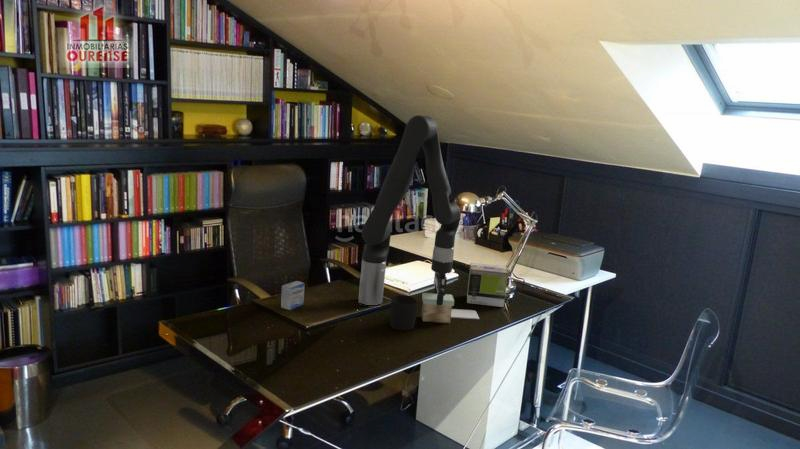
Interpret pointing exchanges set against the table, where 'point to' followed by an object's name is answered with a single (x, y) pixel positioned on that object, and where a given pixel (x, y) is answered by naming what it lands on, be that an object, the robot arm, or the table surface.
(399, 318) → the pen holder
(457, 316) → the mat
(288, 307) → the medicine box
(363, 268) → the robot arm
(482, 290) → the tea box
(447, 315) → the box
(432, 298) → the lid
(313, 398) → the table surface
